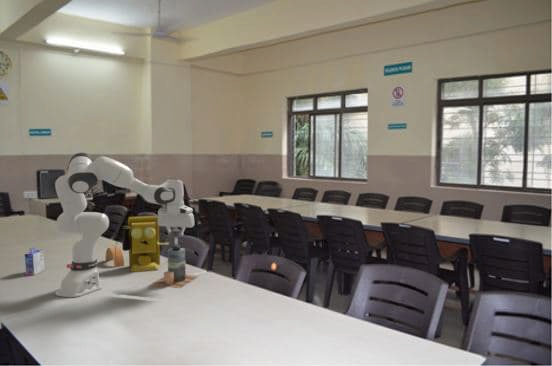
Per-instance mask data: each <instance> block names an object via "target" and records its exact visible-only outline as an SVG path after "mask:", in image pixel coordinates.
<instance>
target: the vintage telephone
mask: <svg viewBox="0 0 552 366" xmlns="http://www.w3.org/2000/svg"><path fill="white" fill-rule="evenodd" d="M124 223H125V225H122V228H123V241H122V246H121V248H122V250H123V251H124V252H128V263H129V264H128V265H129V267H130V272H131V273H136V272H137V273H138V272H147V271H158V270H159V265H161V256H160V255H161V252H160V247H161V246H163V245H165V246H168V245H170V242H160V226H159V225H158V215H147V216H129V217H128V218H127V223H126V222H124ZM119 228H120V227H119V226H118V230H119ZM118 235H119V233H117V236H116V238H118ZM115 243H116V244H115V245H117V243H118V240H116V242H115ZM115 252H116V248H115ZM115 257H116V255H115ZM116 259H117V258H116ZM117 262H118V261H117ZM118 265H119V264H118Z"/></svg>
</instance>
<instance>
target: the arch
mask: <svg viewBox="0 0 552 366" xmlns="http://www.w3.org/2000/svg"><path fill="white" fill-rule="evenodd" d="M115 248H116V252H115ZM115 255H116V257H115ZM116 258H117V259H116ZM105 261H107V262H108V261H113V265H114V266H113V267H114V268H120V267H125V259H124V255H123V251H122V249H121V248H120V246H112V247H111V246H110V247H107V249H106V252H105ZM117 261H118V262H117ZM118 264H119V265H118Z"/></svg>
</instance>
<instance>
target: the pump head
mask: <svg viewBox="0 0 552 366" xmlns="http://www.w3.org/2000/svg"><path fill="white" fill-rule="evenodd" d="M181 231H182V229H173V230H171V233H169V232H168V233H166V234H167V235H166V237H167V238H168V237H169V238H170V237H173V238H174V245H175V246H178V245H179V243H178V241H179V240H178V238H179V237H181V236H182V235H180V232H181Z"/></svg>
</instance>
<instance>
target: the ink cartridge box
mask: <svg viewBox="0 0 552 366" xmlns="http://www.w3.org/2000/svg"><path fill="white" fill-rule="evenodd" d="M29 250H30V251H29V252H26V253H25V254H24V261H25V273H26V276H35V275H37V274H39V273H42V272H45V256H44V249H36V248H34V246H33V247H30V248H29Z"/></svg>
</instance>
